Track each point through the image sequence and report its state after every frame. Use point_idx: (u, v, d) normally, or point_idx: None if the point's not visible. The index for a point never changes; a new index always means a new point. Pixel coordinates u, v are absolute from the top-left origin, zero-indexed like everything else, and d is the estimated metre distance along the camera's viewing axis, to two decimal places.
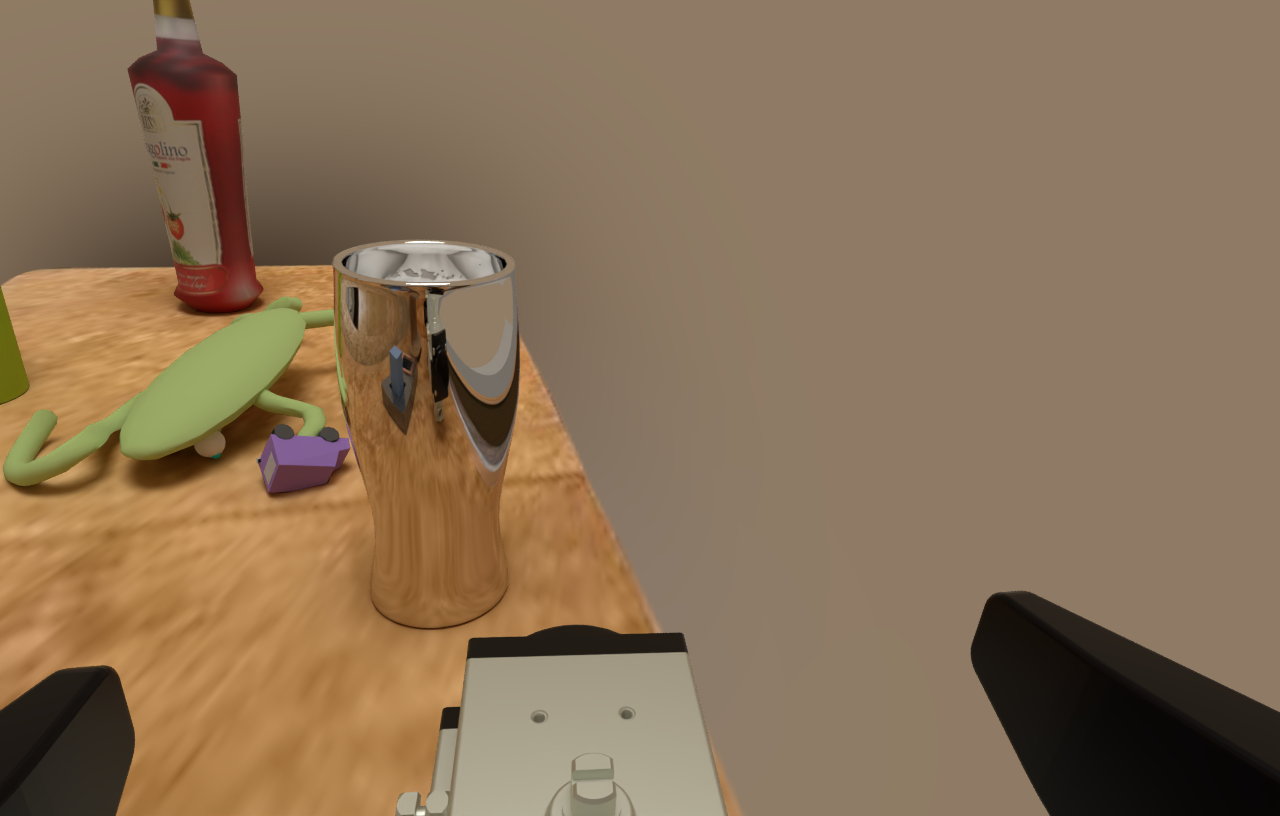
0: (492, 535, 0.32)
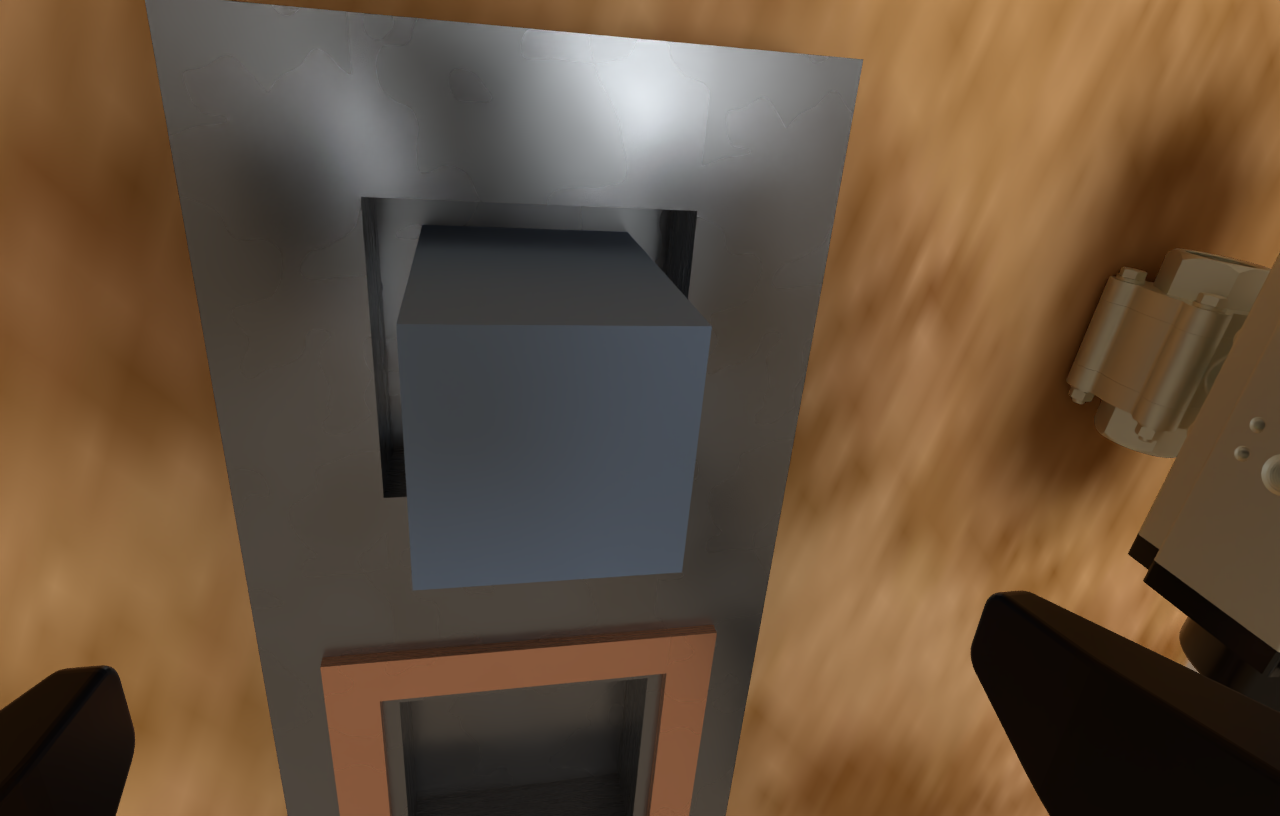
0: None
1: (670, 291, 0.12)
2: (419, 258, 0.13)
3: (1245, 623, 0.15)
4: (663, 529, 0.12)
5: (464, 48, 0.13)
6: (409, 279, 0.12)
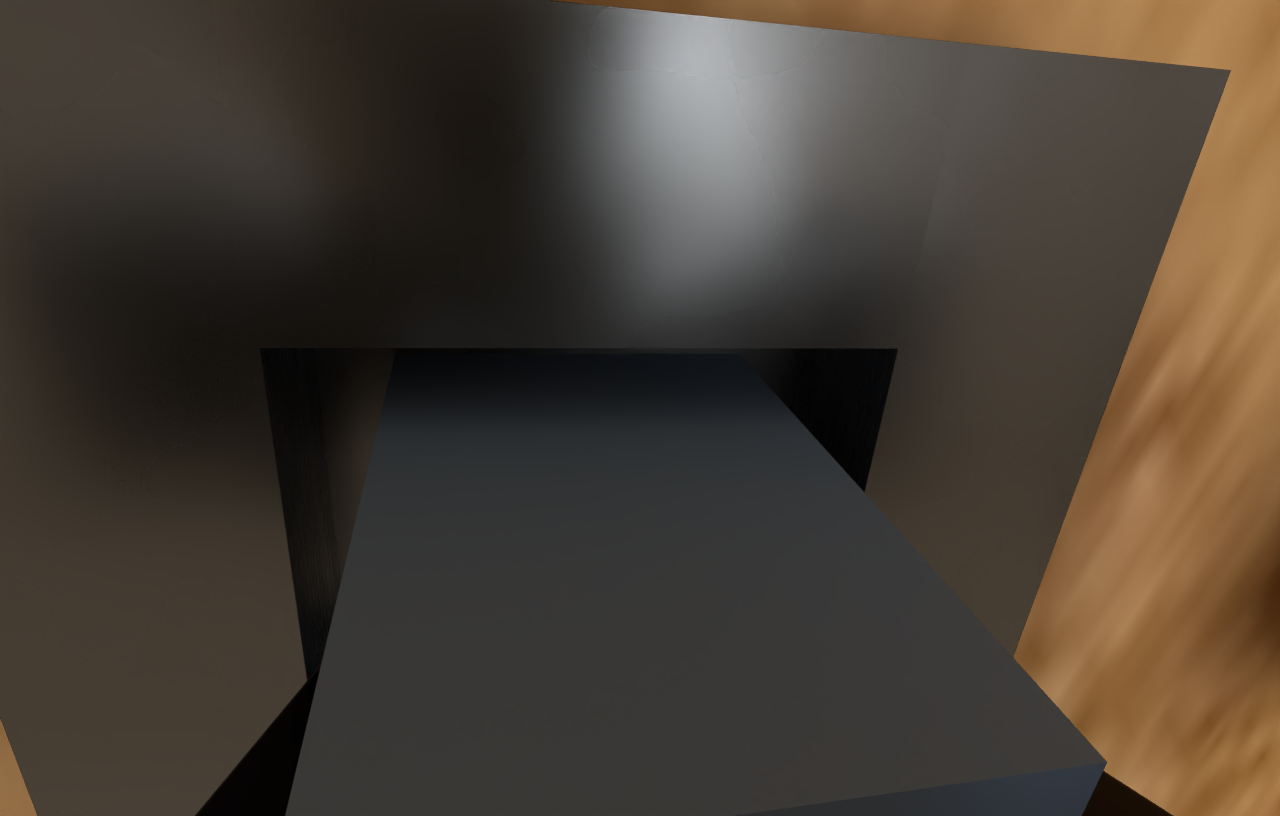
0: None
1: (912, 570, 0.06)
2: (379, 473, 0.06)
3: None
4: None
5: (470, 48, 0.06)
6: (346, 573, 0.05)
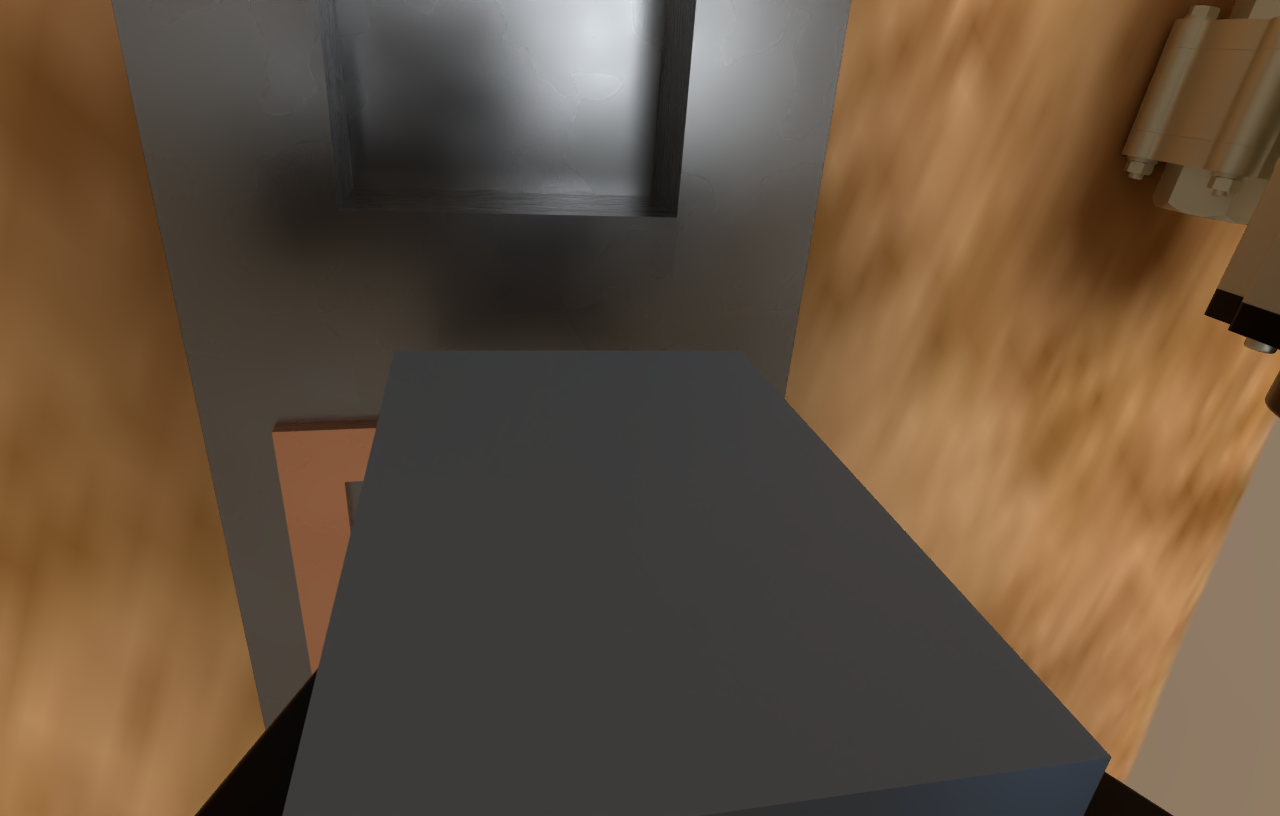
0: None
1: (914, 566, 0.06)
2: (379, 469, 0.06)
3: None
4: None
5: None
6: (345, 568, 0.05)
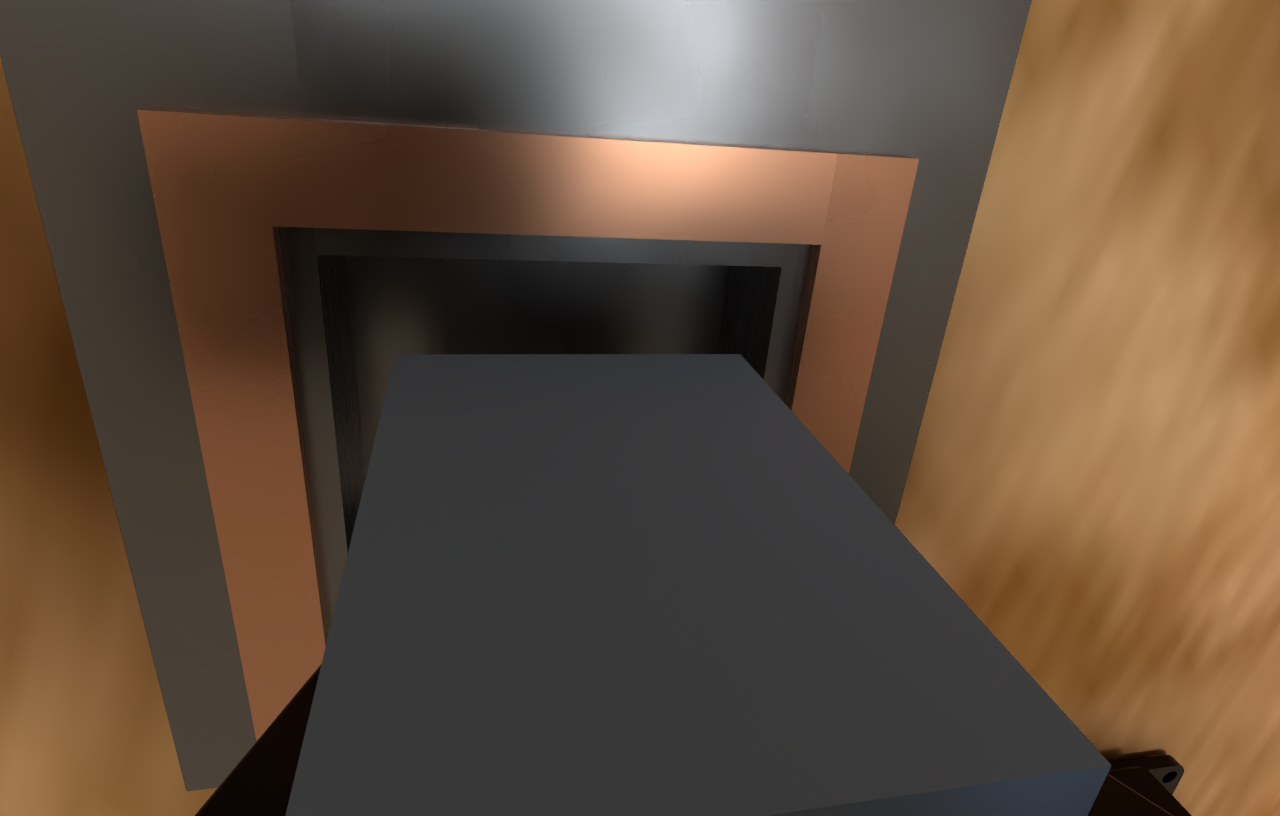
0: None
1: (914, 571, 0.06)
2: (379, 474, 0.06)
3: None
4: None
5: None
6: (345, 575, 0.05)
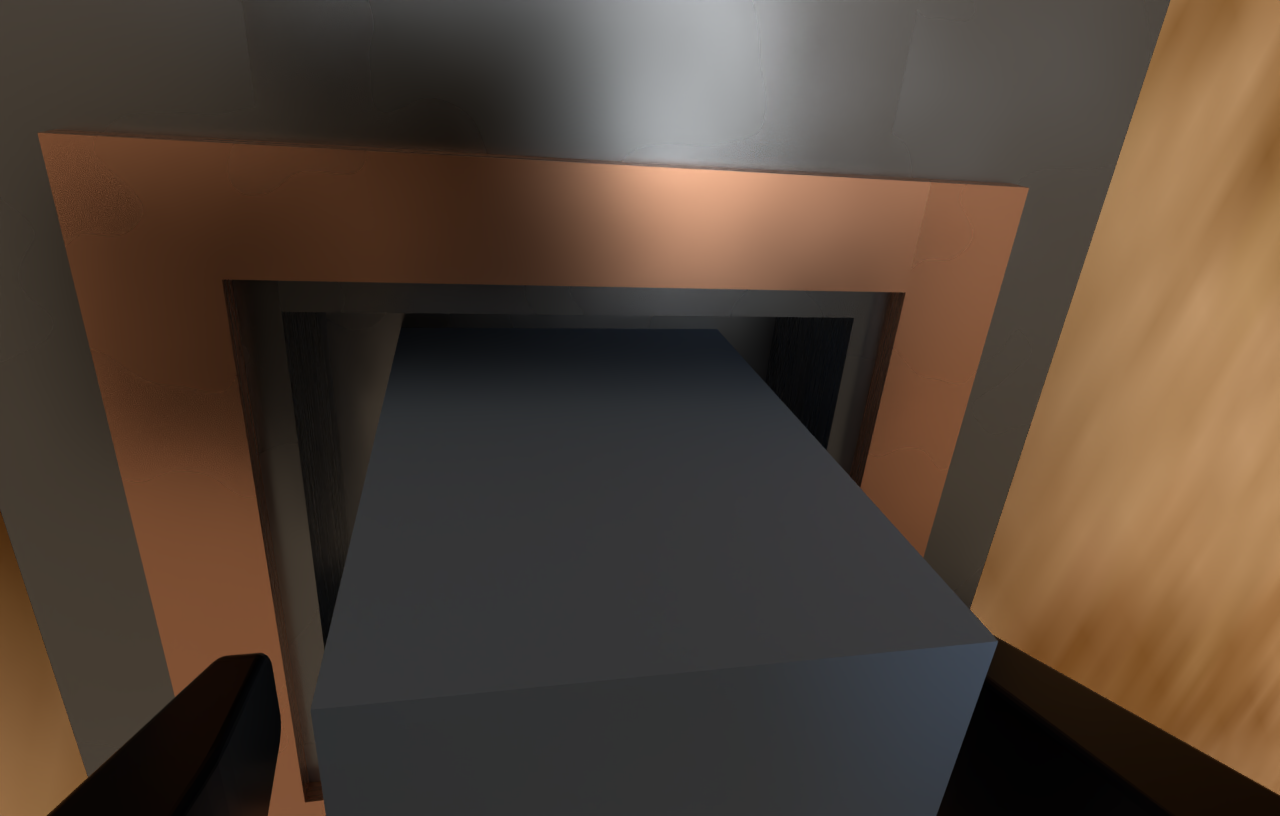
0: None
1: (854, 502, 0.07)
2: (389, 424, 0.07)
3: None
4: None
5: None
6: (362, 499, 0.06)
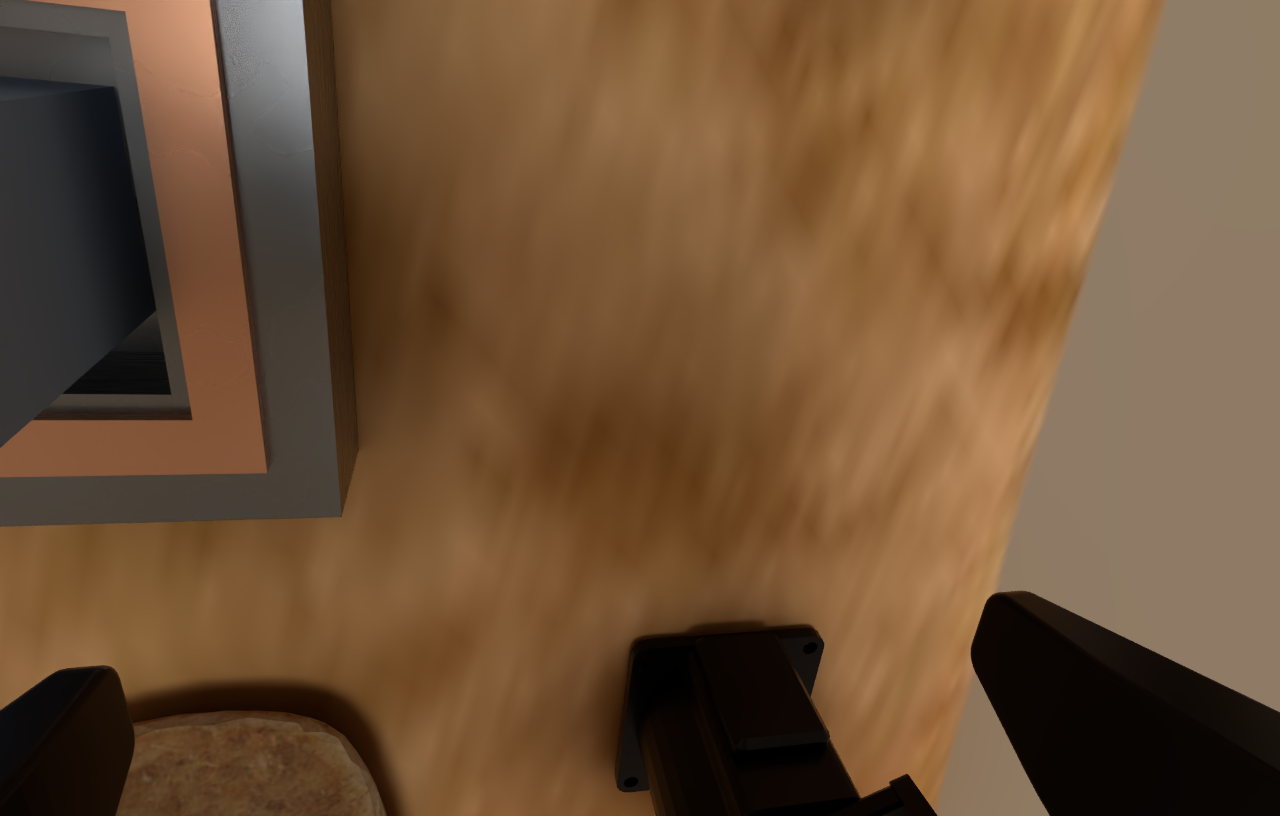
0: None
1: None
2: None
3: None
4: None
5: None
6: None
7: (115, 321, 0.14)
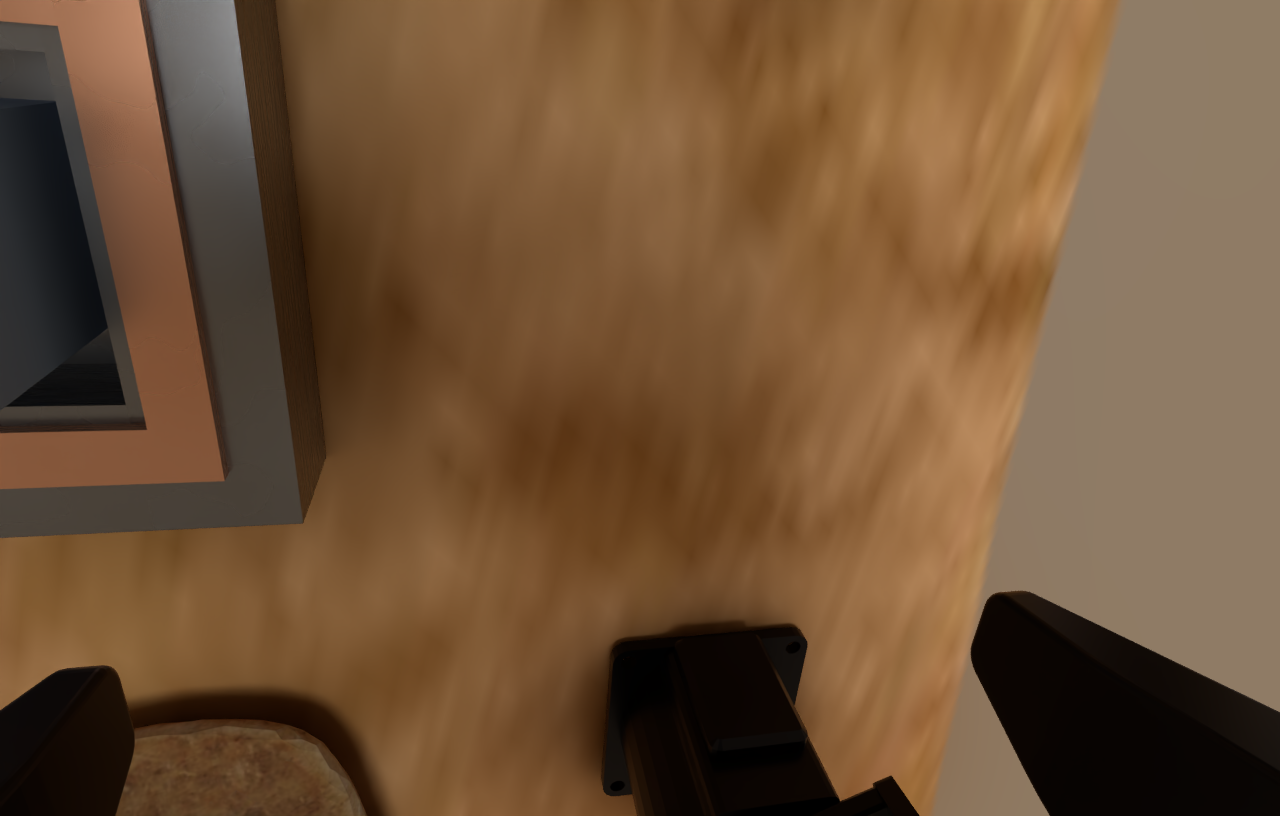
0: None
1: None
2: None
3: None
4: None
5: None
6: None
7: (68, 333, 0.14)
